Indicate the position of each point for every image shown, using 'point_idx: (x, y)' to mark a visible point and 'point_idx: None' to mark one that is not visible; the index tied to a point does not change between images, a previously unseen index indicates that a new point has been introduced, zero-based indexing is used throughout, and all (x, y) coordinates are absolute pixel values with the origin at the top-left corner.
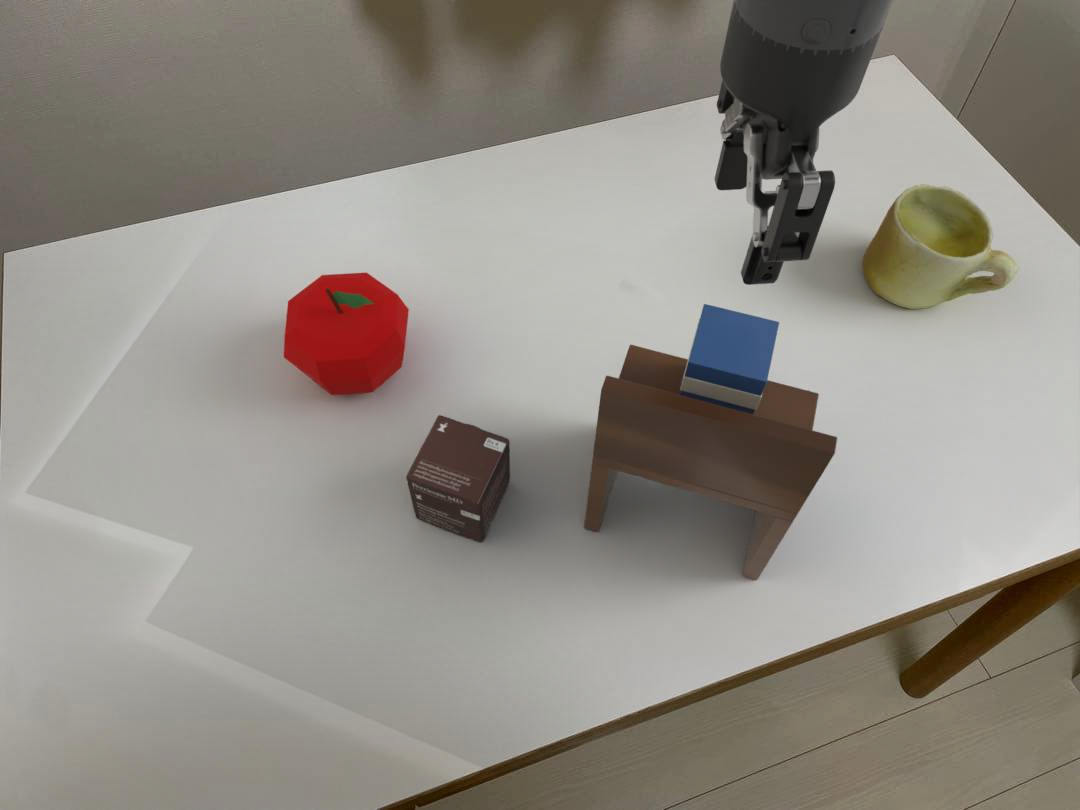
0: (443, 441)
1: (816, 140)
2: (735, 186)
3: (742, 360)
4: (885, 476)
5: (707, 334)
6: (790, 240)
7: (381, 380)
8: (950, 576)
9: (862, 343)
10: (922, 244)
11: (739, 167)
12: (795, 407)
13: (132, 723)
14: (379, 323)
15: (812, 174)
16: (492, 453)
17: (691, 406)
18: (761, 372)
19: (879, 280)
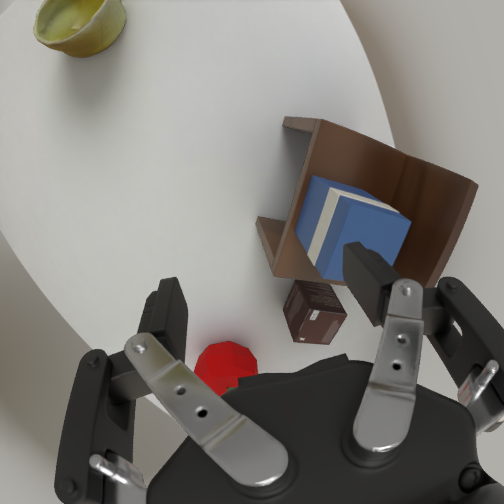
0: (310, 336)
1: (475, 443)
2: (180, 291)
3: (389, 242)
4: (282, 45)
5: None
6: (448, 317)
7: (244, 349)
8: (348, 30)
9: (159, 49)
10: (94, 15)
11: (177, 316)
12: (337, 142)
13: (373, 361)
14: (234, 375)
15: None
16: (319, 315)
17: (429, 287)
18: (402, 225)
19: (105, 43)
